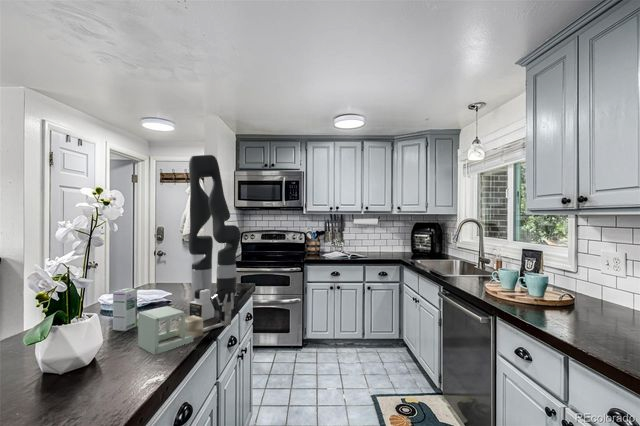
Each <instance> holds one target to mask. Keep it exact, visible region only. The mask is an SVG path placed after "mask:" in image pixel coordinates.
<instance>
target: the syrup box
mask: <svg viewBox="0 0 640 426" xmlns="http://www.w3.org/2000/svg"><path fill="white" fill-rule="evenodd" d="M137 326H138V289H137V288H123V289H120V290H115V291H113V292H112V330H113V331H120V332H127V331H128V330H131V329H134V328H136V327H137Z"/></svg>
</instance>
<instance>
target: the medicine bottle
mask: <svg viewBox="0 0 640 426" xmlns="http://www.w3.org/2000/svg"><path fill="white" fill-rule="evenodd" d="M209 299H210V290H209V289H198V290H196V291H195V301H192V302H191V301H190V302H189V316H193V315H195V316H197V317H200V318H203V322H204V321H208V320H209V319H212V318H214V317H215V310H214V307H213V305H212V303H211V300H209Z"/></svg>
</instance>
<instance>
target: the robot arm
mask: <svg viewBox="0 0 640 426" xmlns="http://www.w3.org/2000/svg"><path fill="white" fill-rule="evenodd" d="M188 161H189V162H188V172H189V173H188V174H189V187H190V189H189V190H190V191H189V192H190V193H189V196H190V197H189V198H190V199H189V237H188V238H189V239H188V251H189V253H190V255H194V256H197V255H198V256H200V255H201V256H202V255H205V256H204V257H203V258H201V259H200V260H197V261H195V262H193V263H192V264H191V299H190V302H192V301H195V291H196V290H198V289H209V290H210V299H209V300H211V303H212V305H213V307H214V311H218V319H219V320H220V322H221V321H224V320H225V311H224V310H225V306H226V302H227V301H230V302H231V320H232V318H233V316H234V315H233V314H234V308H237V307H238V305H239V301H240V299H241V296H242V292H241V291H237V289H236V287H237V252H238V248H239V244H240V241H241V230H240V228H239V227H238V226H237V225H234V224H233V225H232V224H231V225H229V224H227V225H226V224H225V222H227V221H229V219H230V218H231V213H230V209H229V206H228V204H227V200H226V198H225V194H224V193H225V192H224V188H223V182H222V176H221V171H220V166H219V162H218V160H217V158H216V156H215V155H213V154H205V155H204V154H203V155H202V154H201V155H200V154H199V155H191V156H190V157H189V160H188ZM202 178H211V179H212V185H211V186H212V187H211V190H210V193H209V196H208V194H207V192H205V190H204V189H203V187H202V186H201V183H200V181H201V180H200V179H202ZM210 218H212V235H213V237H212V236H211V235H199V232H200V230H201V229H202V228H203V227H204V226H205V225H206V224H207V222H209V220H210ZM213 238H214V240H215V242H216V243H218V244H225V246H224V248H221V249H219V250H218V251H217V261H216V262H217V265H216V266H217V267H216V286H215V288H216V293H215V294H214V283H213V248H214V240H213ZM222 302H223V303H222Z"/></svg>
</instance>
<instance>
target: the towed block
mask: <svg viewBox="0 0 640 426" xmlns="http://www.w3.org/2000/svg"><path fill="white" fill-rule="evenodd" d="M222 303H223V302H222ZM224 311H225V320H224V321H220V322H219V323H217V324H212V325H209V326H206V327H204V321H203V318H200V317H197V316H195V315H193V316H190V315H189V316H187V317H186V316H185V337H187V336H190V335H192V336H194V337H193V339H195V338H199V337H201V336H203V335H204V332H207V331H210V330H212V329H216V328H217V329H218V328H220V327H222V326H223V327H228V326H231V325H232V319H231V302H230V301H227V302H226V306H225V310H224ZM177 320H178V321H177V323H178V324H177V329H178V335H177V337H178V338H181V318H179V319H177Z"/></svg>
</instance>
